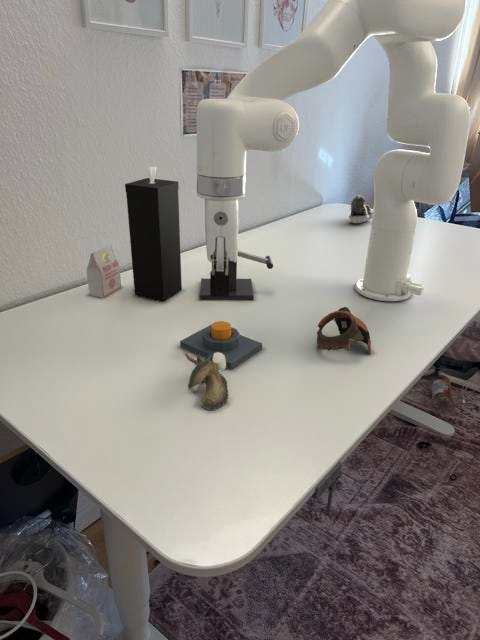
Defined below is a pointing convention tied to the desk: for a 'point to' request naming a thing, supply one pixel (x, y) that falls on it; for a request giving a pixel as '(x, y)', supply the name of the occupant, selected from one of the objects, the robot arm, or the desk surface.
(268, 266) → the switch lever
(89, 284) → the strawberry milk carton
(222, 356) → the furry animal figurine
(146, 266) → the black tall block
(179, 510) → the desk surface
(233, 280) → the lever press stand
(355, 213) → the bison figurine
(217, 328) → the warm button
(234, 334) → the control block
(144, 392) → the desk surface
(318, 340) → the brown curved open piece
